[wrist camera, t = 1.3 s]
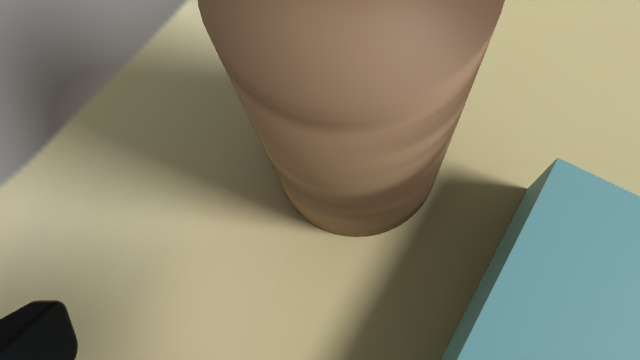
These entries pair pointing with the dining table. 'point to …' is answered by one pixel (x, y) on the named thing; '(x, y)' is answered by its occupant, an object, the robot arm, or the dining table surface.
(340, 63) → the brown vase
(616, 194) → the base block
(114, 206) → the dining table surface
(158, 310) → the dining table surface
